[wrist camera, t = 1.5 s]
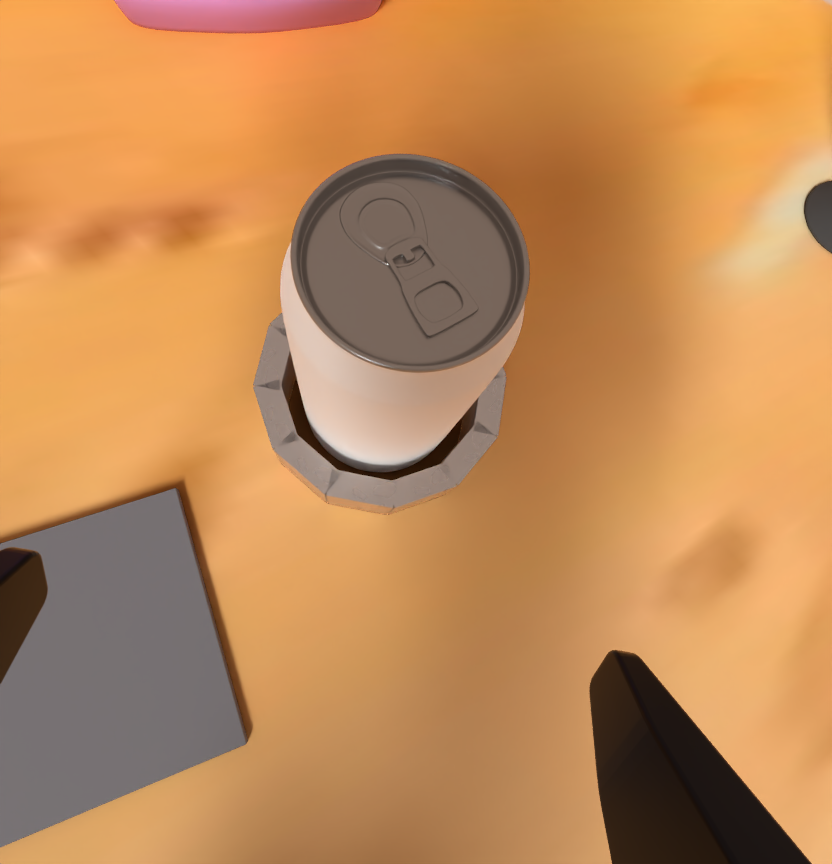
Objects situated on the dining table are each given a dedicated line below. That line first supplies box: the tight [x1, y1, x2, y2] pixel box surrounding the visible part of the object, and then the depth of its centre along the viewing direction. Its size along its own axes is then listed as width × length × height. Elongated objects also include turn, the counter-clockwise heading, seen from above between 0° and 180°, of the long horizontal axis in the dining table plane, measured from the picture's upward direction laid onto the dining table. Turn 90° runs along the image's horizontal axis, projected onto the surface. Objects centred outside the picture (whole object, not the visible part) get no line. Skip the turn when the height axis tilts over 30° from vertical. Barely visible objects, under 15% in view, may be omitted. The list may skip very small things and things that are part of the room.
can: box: [280, 154, 530, 472], centre depth 18 cm, size 6×6×12 cm
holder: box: [253, 313, 506, 515], centre depth 23 cm, size 10×10×3 cm
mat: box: [0, 488, 248, 847], centre depth 20 cm, size 10×10×1 cm
